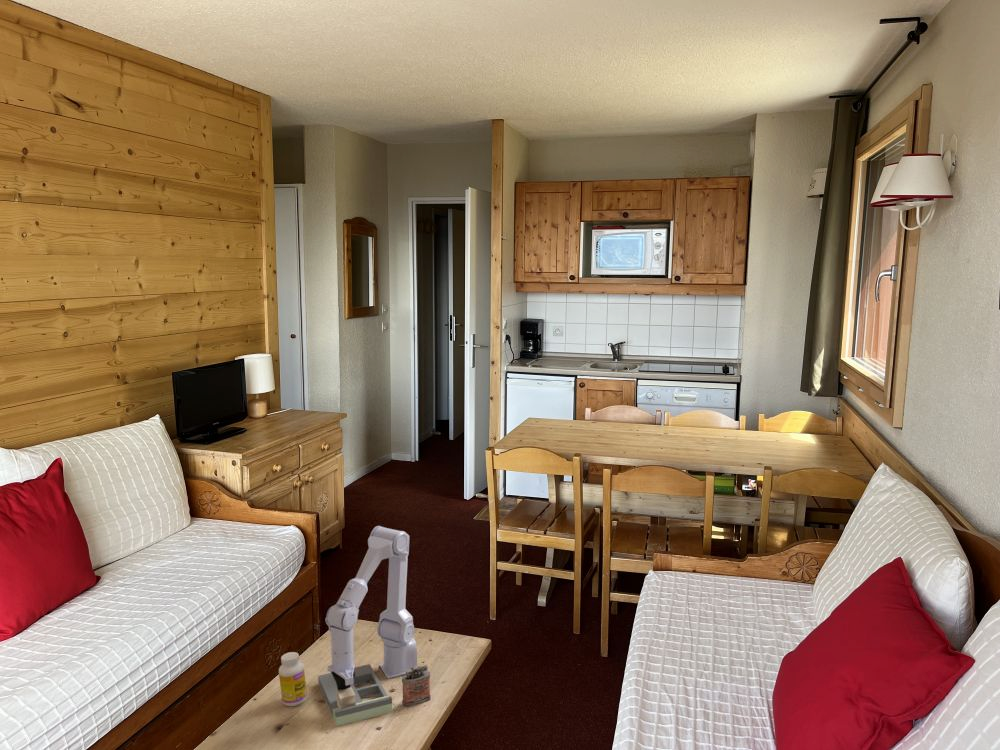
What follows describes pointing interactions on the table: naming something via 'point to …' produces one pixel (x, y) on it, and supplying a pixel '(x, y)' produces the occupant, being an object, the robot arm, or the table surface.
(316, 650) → the table surface
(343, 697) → the block
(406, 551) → the robot arm
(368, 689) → the grey divided tray
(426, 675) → the ornate red tin
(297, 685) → the supplement bottle
